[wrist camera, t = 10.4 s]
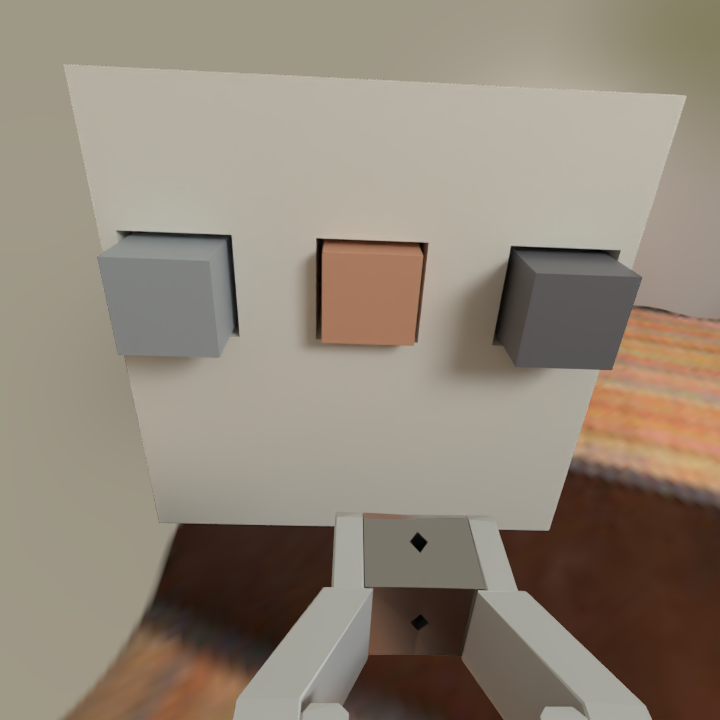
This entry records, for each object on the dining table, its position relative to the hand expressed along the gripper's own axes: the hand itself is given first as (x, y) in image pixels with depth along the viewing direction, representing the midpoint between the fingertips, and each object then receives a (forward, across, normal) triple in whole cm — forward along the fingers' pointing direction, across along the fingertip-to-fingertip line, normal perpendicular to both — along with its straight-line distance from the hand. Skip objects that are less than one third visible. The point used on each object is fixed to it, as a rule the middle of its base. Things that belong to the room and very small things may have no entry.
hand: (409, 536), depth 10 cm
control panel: (+16, 0, -14) cm, 21 cm away
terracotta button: (+14, -1, -2) cm, 15 cm away
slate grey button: (+13, -8, -2) cm, 15 cm away
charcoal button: (+13, +8, -2) cm, 15 cm away
